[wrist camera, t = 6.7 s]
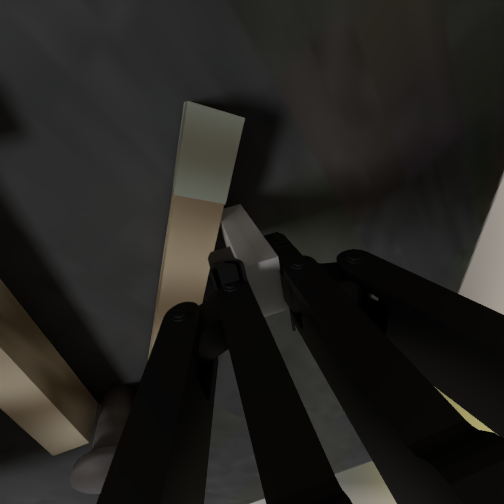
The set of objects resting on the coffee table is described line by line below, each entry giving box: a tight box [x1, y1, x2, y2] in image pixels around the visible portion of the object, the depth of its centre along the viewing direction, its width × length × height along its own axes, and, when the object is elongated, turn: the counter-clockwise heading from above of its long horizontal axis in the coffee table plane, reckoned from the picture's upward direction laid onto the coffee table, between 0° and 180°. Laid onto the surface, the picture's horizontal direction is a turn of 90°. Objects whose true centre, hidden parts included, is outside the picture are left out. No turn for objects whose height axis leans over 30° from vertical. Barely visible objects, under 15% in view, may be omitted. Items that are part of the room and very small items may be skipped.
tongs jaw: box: [148, 101, 245, 359], centre depth 17 cm, size 22×2×3 cm, turn 165°
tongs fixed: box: [0, 279, 136, 494], centre depth 15 cm, size 24×6×6 cm, turn 11°
